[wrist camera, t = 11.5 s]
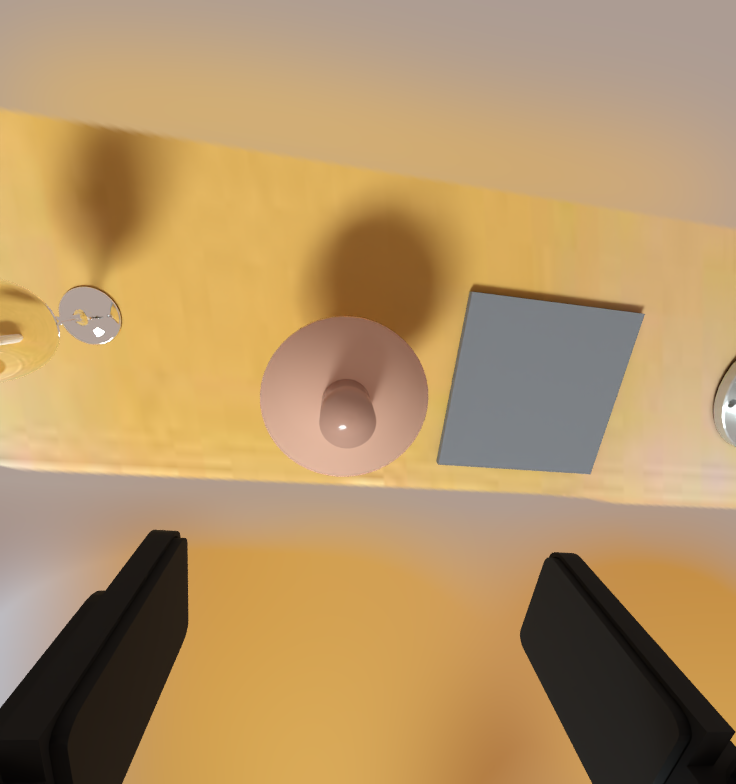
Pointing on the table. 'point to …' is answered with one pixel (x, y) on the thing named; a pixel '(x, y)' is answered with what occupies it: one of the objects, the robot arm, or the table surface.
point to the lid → (344, 396)
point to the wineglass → (49, 325)
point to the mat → (534, 383)
